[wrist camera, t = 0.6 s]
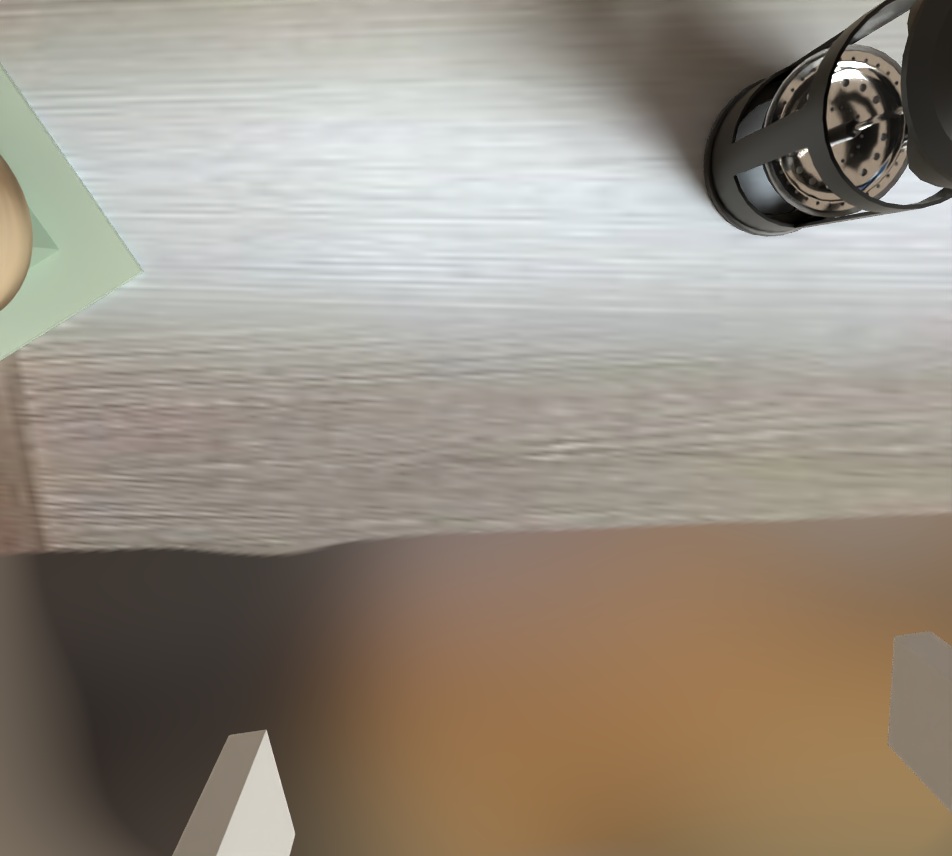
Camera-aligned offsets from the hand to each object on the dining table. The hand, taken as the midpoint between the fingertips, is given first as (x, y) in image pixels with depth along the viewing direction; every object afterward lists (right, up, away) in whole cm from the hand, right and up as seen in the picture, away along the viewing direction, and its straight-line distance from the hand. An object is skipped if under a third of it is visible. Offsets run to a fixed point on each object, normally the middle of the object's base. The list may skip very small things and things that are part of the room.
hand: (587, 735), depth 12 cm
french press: (+17, +24, +25) cm, 39 cm away
